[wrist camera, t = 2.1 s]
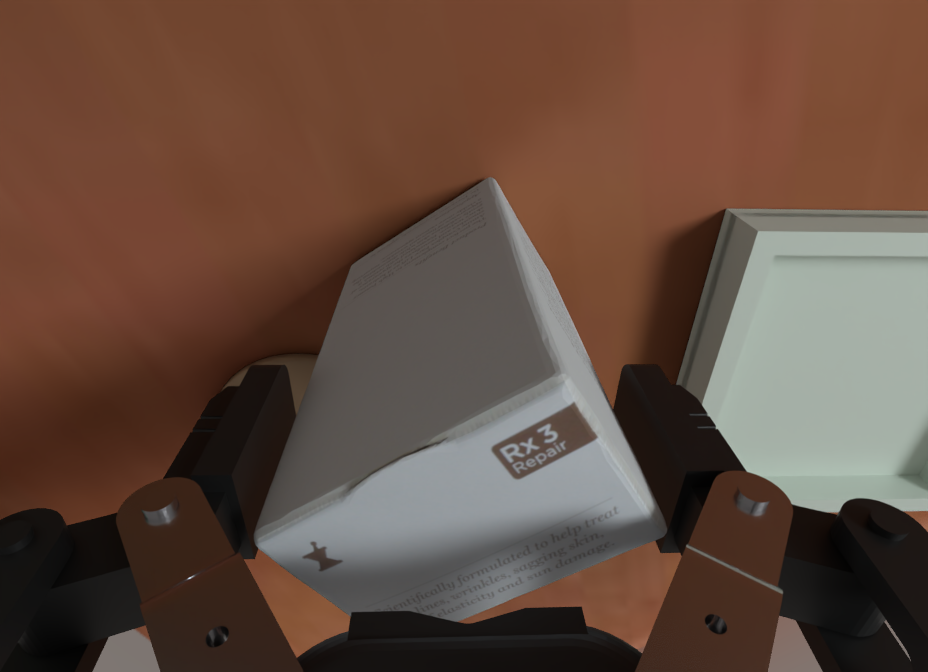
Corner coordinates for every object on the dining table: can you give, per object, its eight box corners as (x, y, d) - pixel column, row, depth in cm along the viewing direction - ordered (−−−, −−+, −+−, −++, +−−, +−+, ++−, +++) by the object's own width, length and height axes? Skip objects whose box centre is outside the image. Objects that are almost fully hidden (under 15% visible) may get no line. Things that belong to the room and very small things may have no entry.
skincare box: (417, 344, 21) (394, 669, 11) (344, 256, 19) (229, 553, 9) (556, 265, 19) (686, 556, 9) (492, 159, 17) (567, 380, 7)
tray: (726, 208, 19) (758, 231, 17) (1082, 212, 19) (1152, 235, 17) (649, 476, 25) (666, 514, 23) (914, 474, 26) (951, 510, 24)
